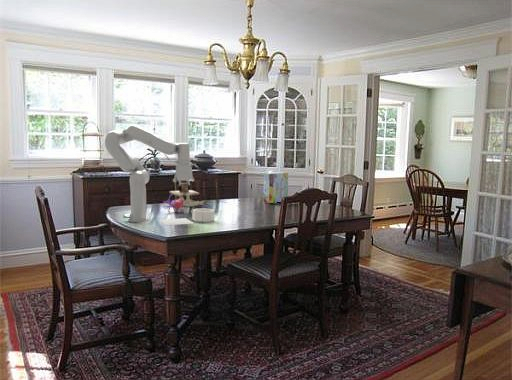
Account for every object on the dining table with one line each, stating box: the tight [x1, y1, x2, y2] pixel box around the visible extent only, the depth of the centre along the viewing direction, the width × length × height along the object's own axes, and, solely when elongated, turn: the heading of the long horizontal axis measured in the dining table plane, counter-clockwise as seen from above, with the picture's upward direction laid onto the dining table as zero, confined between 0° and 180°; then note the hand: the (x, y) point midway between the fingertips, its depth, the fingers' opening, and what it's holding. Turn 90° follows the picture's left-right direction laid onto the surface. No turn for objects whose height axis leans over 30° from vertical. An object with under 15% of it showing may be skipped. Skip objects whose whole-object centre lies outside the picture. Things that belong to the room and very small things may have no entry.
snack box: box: [262, 171, 289, 204], centre depth 366 cm, size 22×9×26 cm, turn 130°
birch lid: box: [169, 182, 200, 197], centre depth 271 cm, size 15×15×6 cm
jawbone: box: [178, 195, 206, 208], centre depth 333 cm, size 25×10×14 cm, turn 51°
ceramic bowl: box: [191, 207, 215, 223], centre depth 280 cm, size 13×13×7 cm
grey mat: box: [159, 217, 195, 226], centre depth 272 cm, size 18×18×1 cm
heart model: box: [162, 193, 184, 214], centre depth 307 cm, size 15×9×18 cm
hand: (183, 191), depth 272 cm, fingers closed on birch lid, 4 cm apart
